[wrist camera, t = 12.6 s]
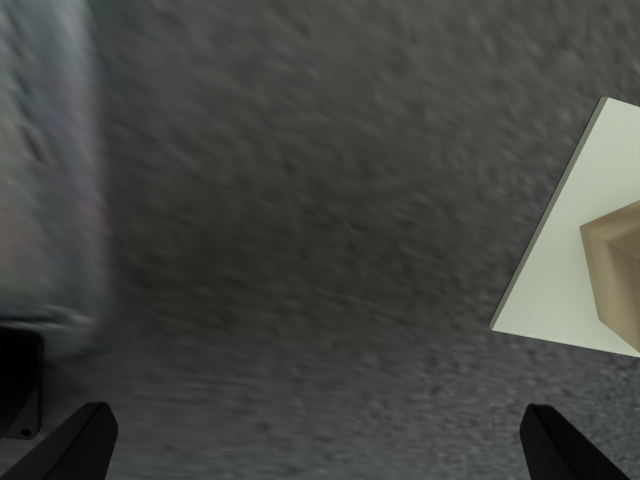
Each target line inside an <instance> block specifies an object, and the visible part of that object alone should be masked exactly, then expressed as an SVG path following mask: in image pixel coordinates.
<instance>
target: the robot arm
mask: <svg viewBox="0 0 640 480" xmlns="http://www.w3.org/2000/svg"><path fill="white" fill-rule="evenodd" d="M26 342H27V343H30V344H31V345H32V346H30V345H28V344H27V343H26ZM42 351H43V342H42V339H41V338H40V337H39V336H37V335H36V334H33V333H27V332H21V331H14V330H7V329H0V440H1V439H2V437H5V438H15V439H24V440H30V439H33V438H35V437H36V435H37V434H38V432H39V431H40V428H41V391H42ZM117 435H118V424H117V421H116V419H115V417H114V415H113V413H112V411H111V408H110V406H109V405H108V404H107V403H106V402H88V403H86V404H84V405H83V406H82V407H80V408H79V409H78V410H77V411H76V412H75V413H73V414H72V415H71V416H70V417H69V418H68V419H67V420H65V421H64V422H63V423H62V424H61V425H60V426H58V427H57V428H56V429H55V430H54V431H53V432H51V433H50V434H49V435H48V436H47V437H46V438H45V439H43V440H42V441H41V442H40V443H39V444H38V445H36V446H35V447H34V448H33V449H32V450H31V451H30V452H28V453H27V454H26V455H25V456H24V457H23V458H21V459H20V460H19V461H18V462H17V463H16V464H15V465H13V466H12V467H11V468H10V469H9V470H8V471H6V472H5V473H4V474H3V475H2V476H1V477H0V480H105V477H106V473H107V470H108V467H109V463H110V460H111V456H112V453H113V449H114V446H115V443H116V439H117ZM520 439H521V443H522V447H523V450H524V454H525V458H526V462H527V466H528V470H529V474H530V477H531V480H631V479H630V478H628V477H627V476H626V475H625V474H624V473H623V472H622V471H621V470H620V469H619V468H618V467H617V466H616V465H615V464H614V463H613V462H612V461H610V460H609V459H608V458H607V457H606V456H605V455H604V454H603V453H602V452H601V451H600V450H599V449H598V448H597V447H596V446H595V445H593V444H592V443H591V442H590V441H589V440H588V439H587V438H586V437H585V436H584V435H583V434H582V433H581V432H580V431H579V430H578V429H576V428H575V427H574V426H573V425H572V424H571V423H570V422H569V421H568V420H567V419H566V418H565V417H564V416H563V415H562V414H561V413H559V412H558V411H557V410H556V409H555V408H554V407H553V406H551V405H550V404H546V403H531V404H529V405H528V406H527V408H526V411H525V414H524V416H523V419H522V422H521V425H520Z"/></svg>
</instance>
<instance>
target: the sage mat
mask: <svg viewBox="0 0 640 480" xmlns="http://www.w3.org/2000/svg"><path fill="white" fill-rule="evenodd" d="M638 200H640V107H637V106H634V105H631V104H628V103H624V102H621V101H618V100H615V99H612V98H609V97H601V99H600V101H599V103H598V105H597V107H596V109H595V111H594V113H593V115H592V117H591V119H590V121H589V123H588V125H587V127H586V129H585V131H584V133H583V135H582V137H581V139H580V141H579V143H578V145H577V147H576V150H575V152H574V154H573V156H572V158H571V160H570V162H569V164H568V166H567V168H566V170H565V172H564V174H563V176H562V178H561V180H560V182H559V184H558V186H557V188H556V190H555V192H554V194H553V196H552V198H551V200H550V202H549V204H548V206H547V208H546V210H545V212H544V214H543V216H542V218H541V220H540V223H539V225H538V227H537V229H536V231H535V233H534V235H533V237H532V239H531V241H530V243H529V245H528V247H527V249H526V251H525V253H524V255H523V257H522V259H521V261H520V263H519V265H518V267H517V269H516V271H515V273H514V275H513V277H512V279H511V281H510V283H509V285H508V287H507V289H506V291H505V293H504V296H503V298H502V300H501V302H500V304H499V306H498V308H497V310H496V312H495V314H494V316H493V318H492V320H491V322H490V324H489V327H490V328H491V329H492V330H494V331H499V332H505V333H510V334H516V335H521V336H527V337H532V338H537V339H543V340H548V341H554V342H559V343H565V344H570V345H575V346H581V347H586V348H592V349H597V350H603V351H608V352H614V353H619V354H624V355H630V356H635V357H640V353H639V352H638V351H636V350H635V349H634V348H633V347H631V346H630V345H629V344H628V343H627V342H625V341H624V340H623V339H622V338H620V337H619V336H618V335H617V334H616V333H614V332H613V331H612V330H611V329H609V328H608V327H607V326H606V325H605V324H603V323H602V322H601V321H600V320H599V319H598V314H597V310H596V305H595V300H594V295H593V290H592V285H591V280H590V276H589V271H588V266H587V261H586V256H585V251H584V246H583V242H582V237H581V232H580V227H579V226H581V225H584V224H586V223H588V222H590V221H593V220H595V219H597V218H599V217H602V216H604V215H606V214H609V213H611V212H613V211H615V210H618V209H620V208H622V207H625V206H627V205H629V204H631V203H634V202H636V201H638Z"/></svg>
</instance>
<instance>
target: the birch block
mask: <svg viewBox="0 0 640 480" xmlns="http://www.w3.org/2000/svg"><path fill="white" fill-rule="evenodd" d="M579 227H580V232H581V237H582V242H583V246H584V251H585V256H586V261H587V266H588V271H589V276H590V280H591V285H592V290H593V295H594V300H595V305H596V310H597V314H598V319H599V320H600V321H601V322H602V323H603V324H605V325H606V326H607V327H608V328H609V329H611V330H612V331H613V332H614V333H616V334H617V335H618V336H619V337H620V338H622V339H623V340H624V341H625V342H627V343H628V344H629V345H630V346H631V347H633V348H634V349H635V350H636V351H638V352H639V353H640V200H638V201H636V202H634V203H631V204H629V205H627V206H625V207H622V208H620V209H618V210H615V211H613V212H611V213H609V214H606V215H604V216H602V217H599V218H597V219H595V220H593V221H590V222H588V223H586V224H584V225H581V226H579Z"/></svg>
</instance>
